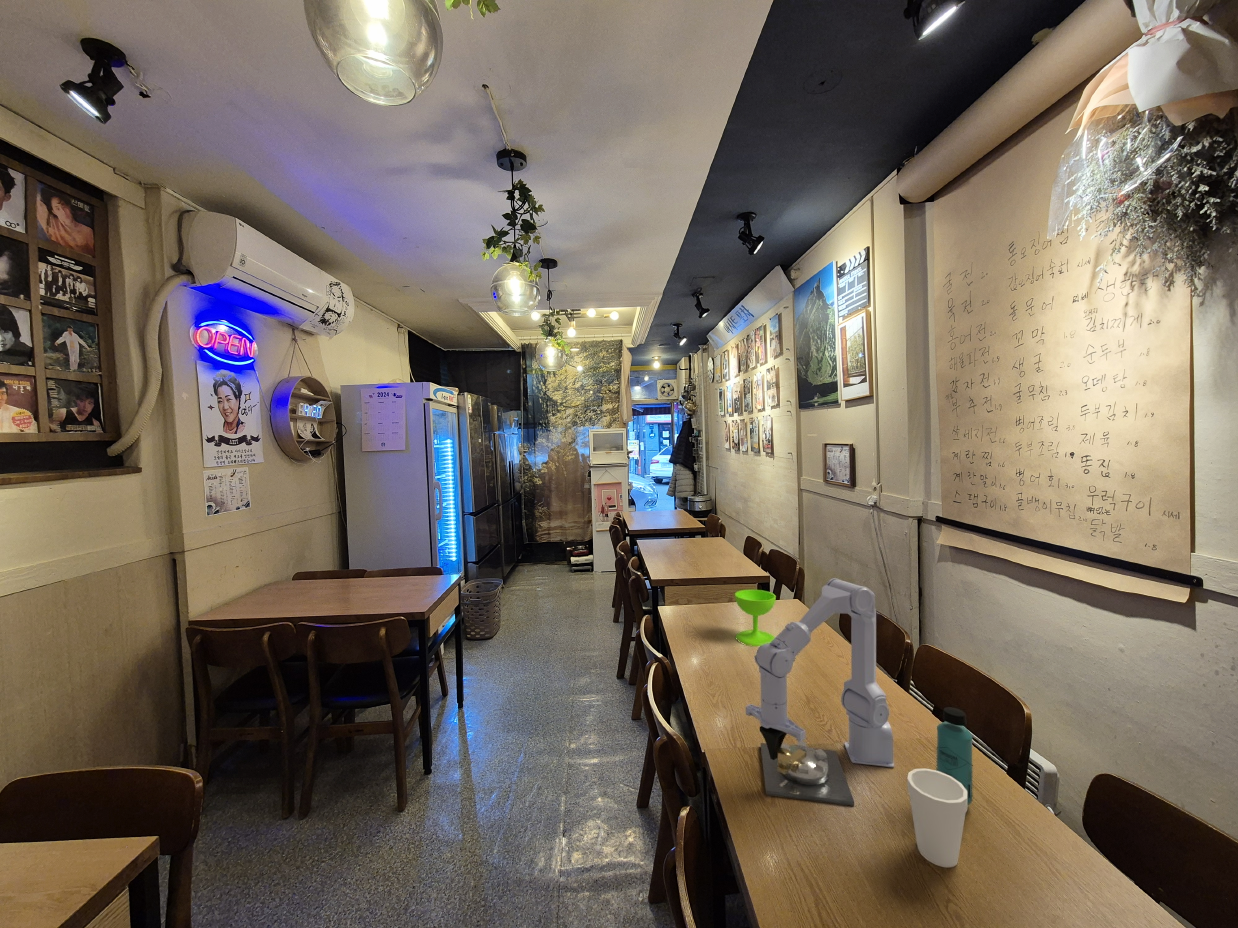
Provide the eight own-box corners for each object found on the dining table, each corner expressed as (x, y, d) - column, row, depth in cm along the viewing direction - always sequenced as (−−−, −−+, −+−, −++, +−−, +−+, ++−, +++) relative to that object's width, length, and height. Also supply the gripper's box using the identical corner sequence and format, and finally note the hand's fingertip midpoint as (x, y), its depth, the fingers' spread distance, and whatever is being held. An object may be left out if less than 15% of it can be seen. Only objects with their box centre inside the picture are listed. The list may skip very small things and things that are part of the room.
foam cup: (944, 832, 95) (944, 767, 95) (981, 872, 86) (980, 801, 86) (897, 834, 95) (896, 769, 95) (929, 875, 86) (928, 803, 86)
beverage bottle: (938, 788, 108) (937, 699, 108) (974, 801, 104) (974, 708, 103) (934, 804, 103) (933, 711, 102) (972, 819, 99) (972, 722, 98)
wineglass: (727, 636, 200) (726, 592, 200) (757, 629, 207) (757, 587, 206) (753, 649, 185) (752, 603, 185) (785, 642, 192) (784, 597, 192)
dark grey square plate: (835, 754, 120) (835, 750, 120) (854, 805, 103) (854, 800, 103) (760, 746, 124) (760, 742, 124) (766, 794, 107) (766, 789, 107)
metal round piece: (793, 748, 121) (793, 719, 121) (837, 769, 113) (836, 738, 113) (759, 775, 112) (759, 743, 111) (804, 800, 103) (804, 766, 103)
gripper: (736, 692, 114) (737, 749, 114) (792, 718, 102) (792, 781, 102) (755, 682, 118) (756, 738, 118) (810, 706, 106) (811, 767, 107)
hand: (774, 757), depth 110 cm, fingers closed
